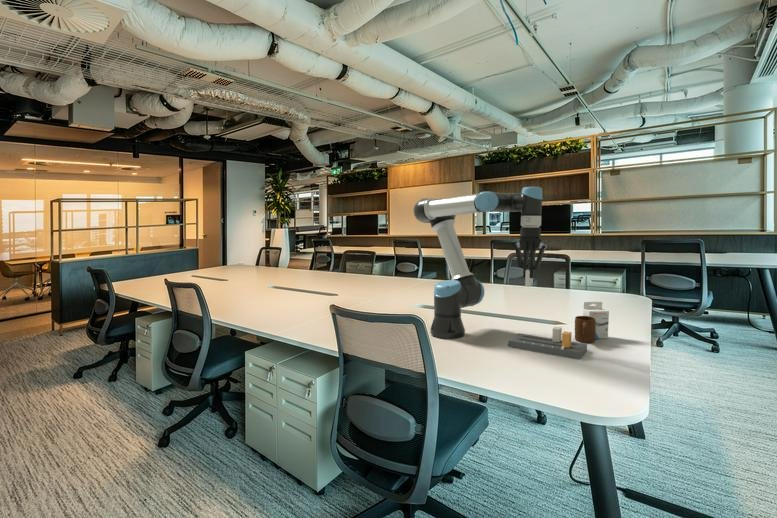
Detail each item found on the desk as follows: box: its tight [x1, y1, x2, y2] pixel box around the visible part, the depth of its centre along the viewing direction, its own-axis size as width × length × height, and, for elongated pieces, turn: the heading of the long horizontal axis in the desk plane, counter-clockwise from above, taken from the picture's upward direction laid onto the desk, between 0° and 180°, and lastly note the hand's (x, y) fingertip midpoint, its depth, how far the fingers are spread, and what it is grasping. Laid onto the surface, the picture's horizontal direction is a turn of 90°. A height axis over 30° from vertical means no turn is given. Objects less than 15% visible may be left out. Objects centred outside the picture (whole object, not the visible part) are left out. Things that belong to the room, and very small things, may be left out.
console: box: [507, 332, 588, 360], centre depth 148 cm, size 26×12×3 cm, turn 52°
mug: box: [574, 315, 596, 344], centre depth 155 cm, size 12×8×9 cm, turn 153°
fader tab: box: [561, 331, 573, 348], centre depth 142 cm, size 2×4×5 cm, turn 142°
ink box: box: [582, 301, 610, 340], centre depth 161 cm, size 8×5×15 cm, turn 93°
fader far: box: [551, 326, 563, 342], centre depth 148 cm, size 2×4×5 cm, turn 142°
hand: (528, 285), depth 153 cm, fingers closed
